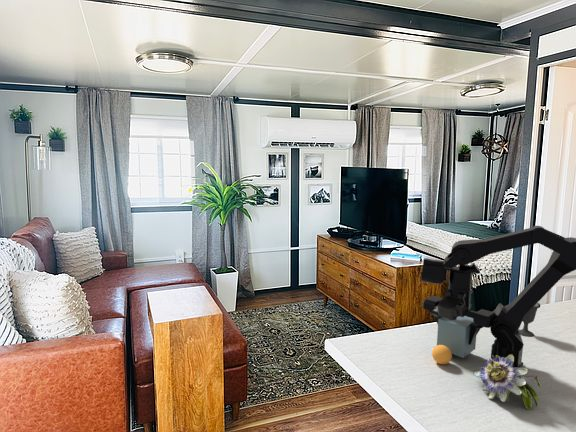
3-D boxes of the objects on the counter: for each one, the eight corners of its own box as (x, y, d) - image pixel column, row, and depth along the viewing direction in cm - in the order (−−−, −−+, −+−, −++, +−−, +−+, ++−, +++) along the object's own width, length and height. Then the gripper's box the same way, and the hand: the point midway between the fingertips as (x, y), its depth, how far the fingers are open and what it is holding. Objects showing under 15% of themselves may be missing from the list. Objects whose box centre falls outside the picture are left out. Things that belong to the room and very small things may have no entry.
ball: (449, 347, 103) (443, 366, 103) (457, 350, 107) (452, 368, 106) (431, 340, 107) (426, 358, 106) (439, 343, 110) (434, 360, 110)
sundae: (541, 338, 122) (546, 292, 120) (517, 336, 124) (522, 290, 122) (532, 330, 129) (537, 286, 127) (510, 328, 130) (514, 284, 128)
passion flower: (490, 420, 92) (462, 370, 95) (515, 397, 97) (487, 351, 101) (532, 419, 83) (499, 364, 86) (557, 394, 88) (525, 343, 91)
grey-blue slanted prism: (475, 348, 112) (477, 319, 111) (463, 358, 107) (465, 327, 105) (448, 339, 117) (450, 311, 116) (436, 348, 112) (438, 318, 111)
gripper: (414, 284, 110) (411, 336, 113) (483, 302, 97) (478, 361, 99) (433, 276, 118) (430, 326, 120) (499, 292, 104) (494, 347, 107)
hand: (455, 339), depth 111 cm, fingers closed on grey-blue slanted prism, 8 cm apart
